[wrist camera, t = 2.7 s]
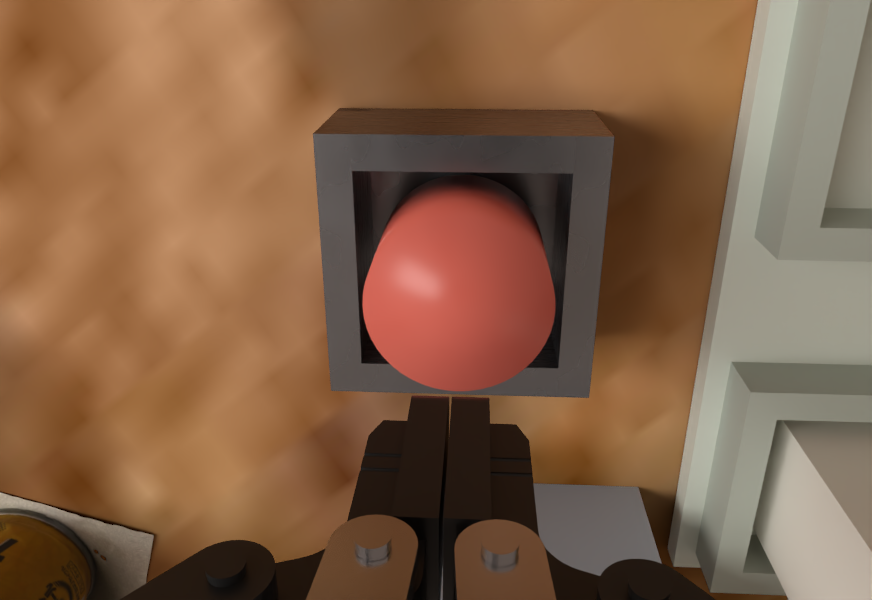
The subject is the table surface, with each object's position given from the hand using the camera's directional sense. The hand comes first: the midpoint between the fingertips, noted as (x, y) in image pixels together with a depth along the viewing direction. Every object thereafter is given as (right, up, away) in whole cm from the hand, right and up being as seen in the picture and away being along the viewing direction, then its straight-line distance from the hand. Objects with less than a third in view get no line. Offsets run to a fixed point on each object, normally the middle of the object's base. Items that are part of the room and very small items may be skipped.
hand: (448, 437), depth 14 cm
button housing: (+1, +5, +11) cm, 12 cm away
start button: (+1, +4, +8) cm, 9 cm away
